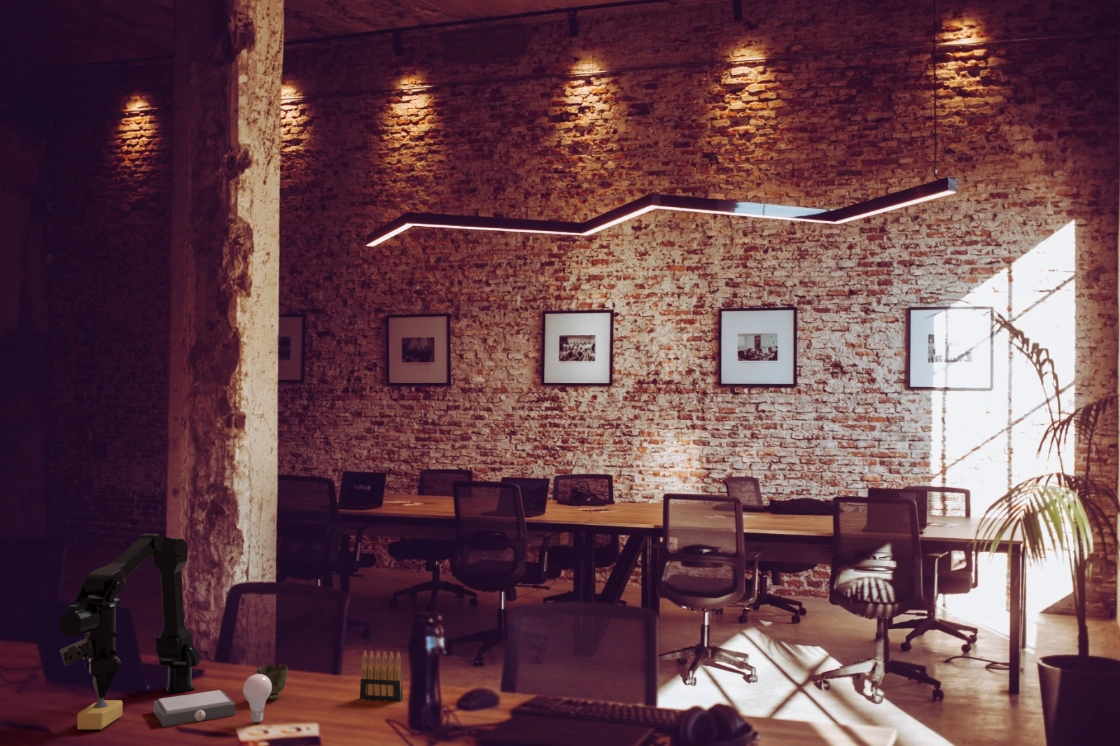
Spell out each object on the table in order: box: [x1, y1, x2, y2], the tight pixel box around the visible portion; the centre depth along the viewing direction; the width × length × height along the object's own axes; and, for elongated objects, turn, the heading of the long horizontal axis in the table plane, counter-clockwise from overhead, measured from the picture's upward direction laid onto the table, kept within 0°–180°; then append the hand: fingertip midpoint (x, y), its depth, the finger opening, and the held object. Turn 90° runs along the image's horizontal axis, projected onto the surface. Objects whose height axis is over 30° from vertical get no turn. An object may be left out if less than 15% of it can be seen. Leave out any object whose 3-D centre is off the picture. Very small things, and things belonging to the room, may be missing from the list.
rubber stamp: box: [76, 675, 123, 730], centre depth 219 cm, size 10×6×12 cm, turn 179°
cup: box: [256, 663, 289, 702], centre depth 239 cm, size 8×7×8 cm
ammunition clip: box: [359, 650, 403, 703], centre depth 238 cm, size 11×2×12 cm, turn 80°
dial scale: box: [153, 689, 236, 728], centre depth 227 cm, size 14×16×3 cm
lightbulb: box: [242, 673, 272, 724], centre depth 220 cm, size 6×6×11 cm
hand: (100, 696), depth 219 cm, fingers closed on rubber stamp, 3 cm apart
